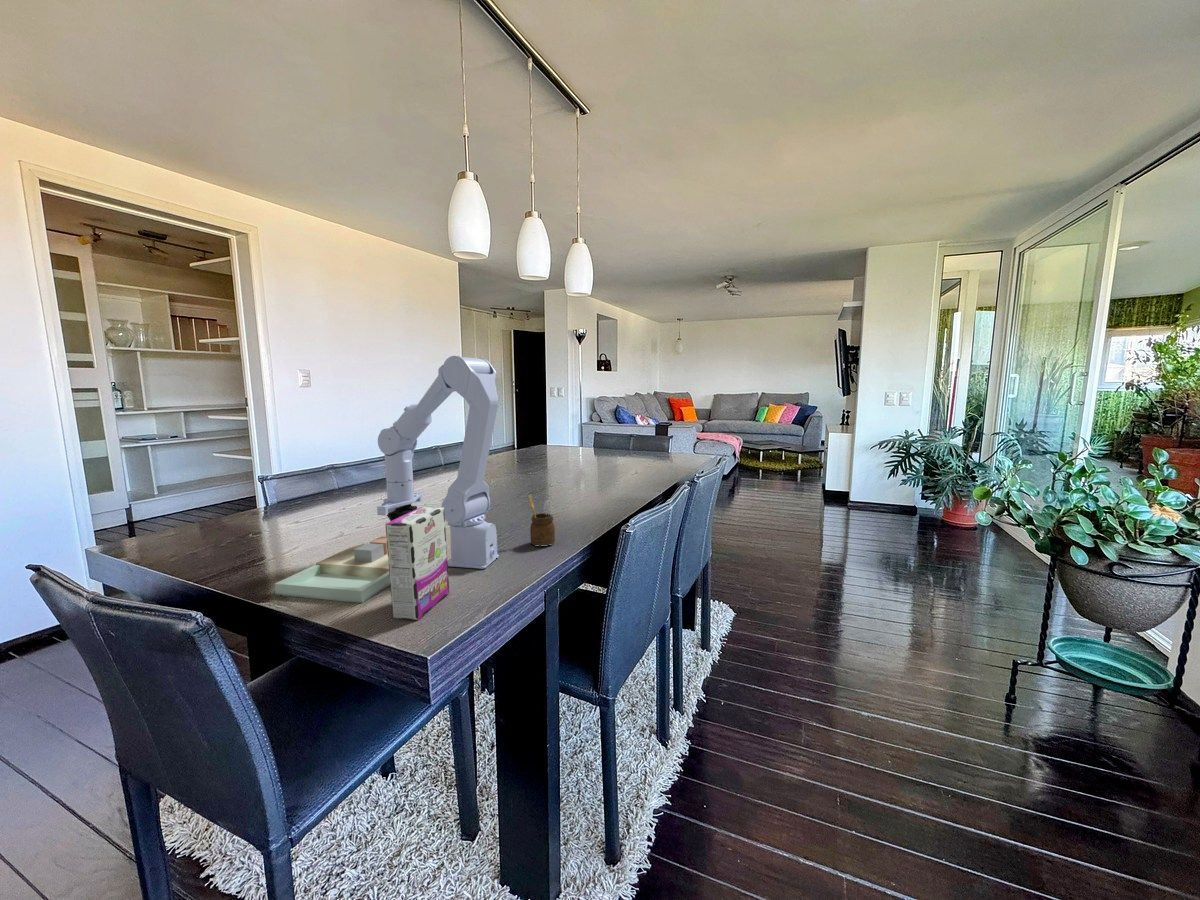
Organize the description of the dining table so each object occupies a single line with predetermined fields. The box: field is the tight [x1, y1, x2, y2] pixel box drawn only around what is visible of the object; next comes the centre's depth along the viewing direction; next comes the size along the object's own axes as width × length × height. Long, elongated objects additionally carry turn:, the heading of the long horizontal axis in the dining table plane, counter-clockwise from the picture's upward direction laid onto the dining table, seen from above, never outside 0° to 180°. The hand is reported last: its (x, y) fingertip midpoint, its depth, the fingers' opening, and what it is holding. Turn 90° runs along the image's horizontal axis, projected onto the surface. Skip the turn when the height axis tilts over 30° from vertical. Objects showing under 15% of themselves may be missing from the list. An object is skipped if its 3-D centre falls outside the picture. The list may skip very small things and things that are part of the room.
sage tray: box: [274, 564, 390, 604], centre depth 93 cm, size 18×10×2 cm, turn 79°
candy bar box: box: [385, 506, 450, 621], centre depth 85 cm, size 11×5×16 cm, turn 170°
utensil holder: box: [527, 494, 556, 546], centre depth 119 cm, size 6×6×12 cm
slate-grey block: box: [354, 543, 384, 562], centre depth 102 cm, size 4×4×2 cm
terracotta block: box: [369, 536, 388, 554], centre depth 107 cm, size 4×4×2 cm
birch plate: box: [315, 543, 389, 578], centre depth 105 cm, size 18×13×2 cm
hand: (403, 538), depth 114 cm, fingers closed
